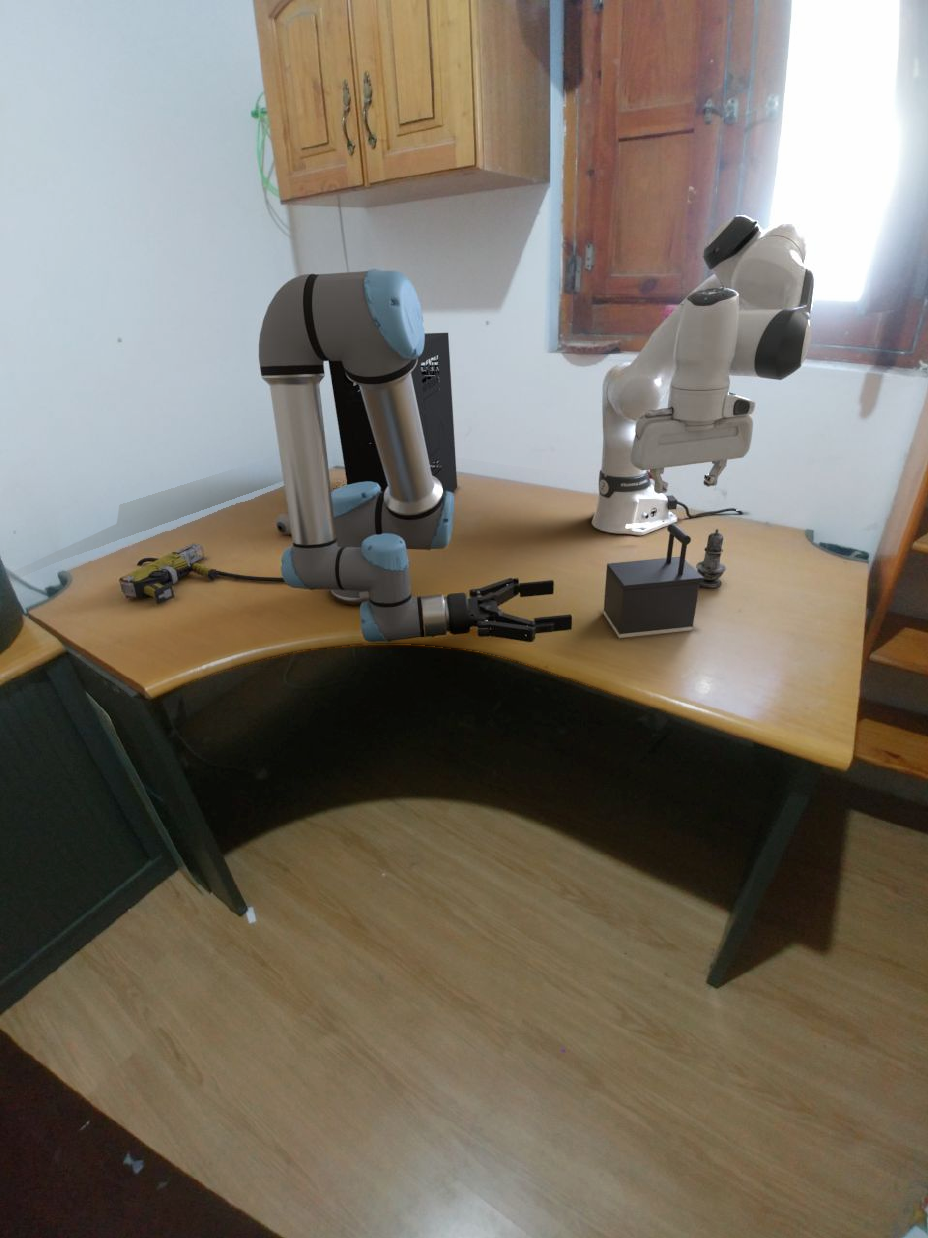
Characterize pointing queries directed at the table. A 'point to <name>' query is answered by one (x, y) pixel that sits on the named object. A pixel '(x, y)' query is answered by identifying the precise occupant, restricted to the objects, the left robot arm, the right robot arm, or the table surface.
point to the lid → (658, 567)
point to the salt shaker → (712, 561)
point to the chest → (649, 608)
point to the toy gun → (164, 574)
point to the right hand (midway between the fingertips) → (685, 488)
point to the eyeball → (283, 523)
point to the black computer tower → (432, 410)
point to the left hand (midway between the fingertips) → (562, 603)
